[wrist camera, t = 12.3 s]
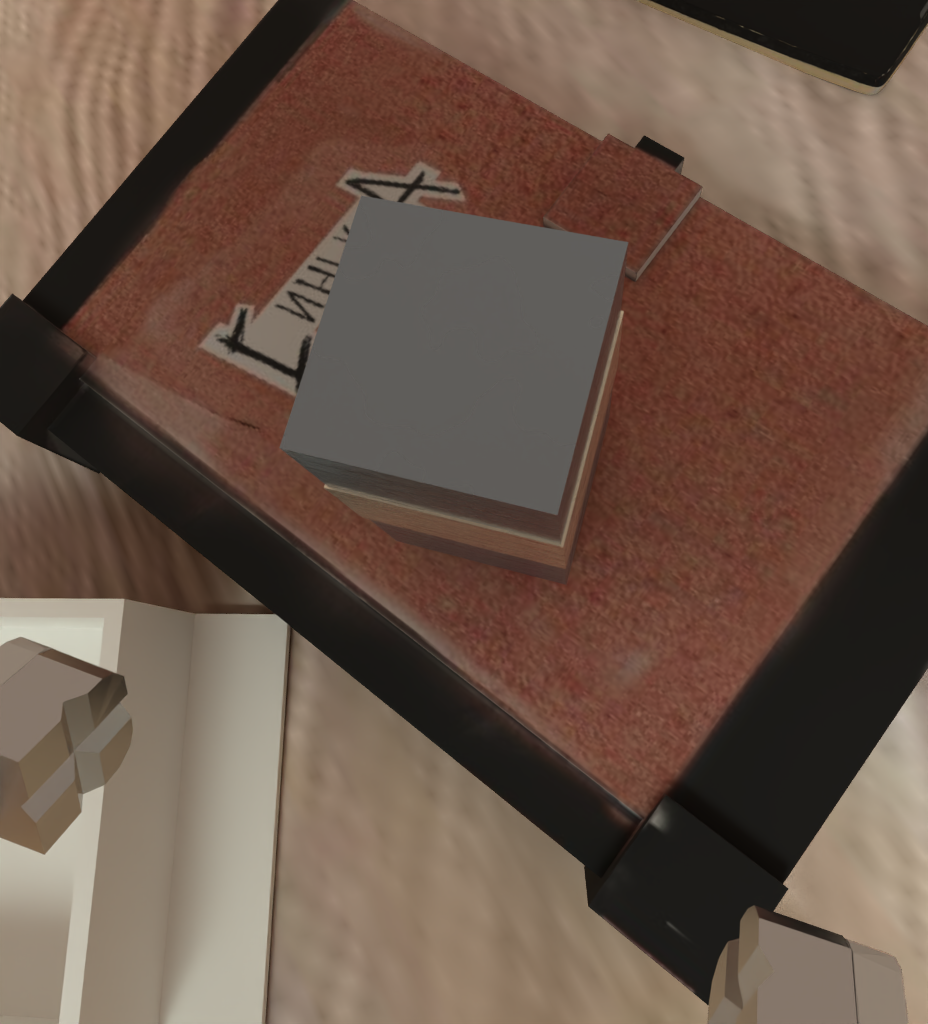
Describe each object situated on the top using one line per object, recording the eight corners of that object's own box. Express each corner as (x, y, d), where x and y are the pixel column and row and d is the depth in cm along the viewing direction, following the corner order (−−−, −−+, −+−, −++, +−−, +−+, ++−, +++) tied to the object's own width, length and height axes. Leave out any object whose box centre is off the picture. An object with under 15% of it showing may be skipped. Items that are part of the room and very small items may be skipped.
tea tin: (567, 587, 20) (559, 519, 12) (394, 542, 21) (275, 450, 13) (611, 414, 21) (632, 239, 13) (442, 378, 22) (359, 192, 14)
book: (1012, 449, 25) (1122, 390, 20) (679, 939, 23) (709, 1006, 18) (352, 61, 30) (311, -58, 26) (48, 427, 29) (-58, 374, 24)
